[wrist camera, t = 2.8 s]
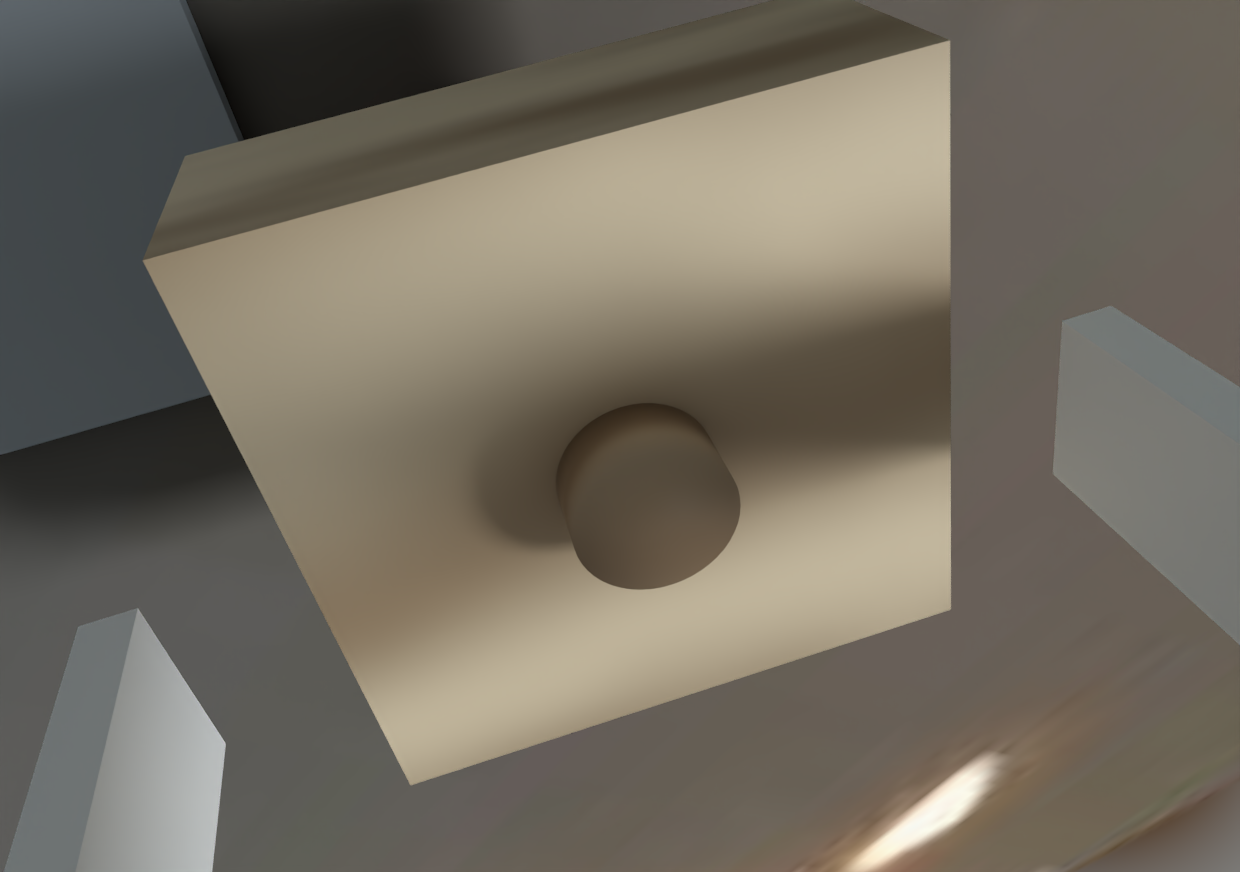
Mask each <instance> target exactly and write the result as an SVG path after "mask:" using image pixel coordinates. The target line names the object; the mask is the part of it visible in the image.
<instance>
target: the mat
mask: <svg viewBox="0 0 1240 872" xmlns="http://www.w3.org/2000/svg"><path fill="white" fill-rule="evenodd" d="M240 141H244V139H243V136H242V134H241V132H240V129H239V127H238V124H237V122H236V120H235V117H234V115H233V112H232V110H231V108H230V105H229V103H228V100H227V98H226V96H225V93H224V91H223V88H222V86H221V84H220V81H219V79H218V76H217V74H216V72H215V69H214V67H213V64H212V62H211V60H210V57H209V55H208V52H207V50H206V48H205V45H204V43H203V40H202V38H201V35H200V33H199V31H198V28H197V26H196V23H195V21H194V19H193V16H192V14H191V11H190V9H189V7H188V4H187V2H186V0H0V455H2V454H5V453H9V452H12V451H16V450H19V449H23V448H26V447H30V446H33V445H37V444H40V443H44V442H47V441H51V440H54V439H58V438H61V437H65V436H68V435H72V434H75V433H79V432H82V431H86V430H89V429H93V428H96V427H100V426H103V425H107V424H110V423H114V422H117V421H121V420H124V419H127V418H131V417H134V416H138V415H141V414H145V413H148V412H152V411H155V410H159V409H162V408H166V407H169V406H173V405H176V404H180V403H183V402H187V401H190V400H194V399H197V398H201V397H204V396H208V395H211V394H210V392H209V390H208V388H207V386H206V384H205V382H204V380H203V378H202V376H201V374H200V372H199V370H198V368H197V366H196V364H195V362H194V360H193V358H192V356H191V354H190V352H189V350H188V349H187V347H186V345H185V343H184V341H183V339H182V337H181V335H180V333H179V331H178V329H177V327H176V325H175V323H174V321H173V319H172V317H171V315H170V313H169V311H168V309H167V307H166V305H165V304H164V302H163V300H162V298H161V296H160V294H159V292H158V290H157V288H156V286H155V284H154V282H153V280H152V278H151V276H150V274H149V272H148V270H147V268H146V266H145V264H144V262H143V258H144V256H145V253H146V251H147V248H148V246H149V243H150V241H151V238H152V236H153V233H154V231H155V229H156V226H157V224H158V221H159V219H160V216H161V214H162V211H163V209H164V206H165V204H166V202H167V199H168V197H169V194H170V192H171V189H172V187H173V184H174V182H175V179H176V177H177V174H178V172H179V170H180V167H181V165H182V162H183V160H184V157H185V156H187V155H191V154H194V153H198V152H202V151H206V150H210V149H213V148H217V147H221V146H225V145H228V144H232V143H236V142H240Z"/></svg>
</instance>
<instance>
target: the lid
mask: <svg viewBox="0 0 1240 872" xmlns="http://www.w3.org/2000/svg"><path fill="white" fill-rule="evenodd" d="M143 262H144V264H145V266H146V268H147V270H148V272H149V274H150V276H151V278H152V280H153V282H154V284H155V286H156V288H157V290H158V292H159V294H160V296H161V298H162V300H163V302H164V304H165V305H166V307H167V309H168V311H169V313H170V315H171V317H172V319H173V321H174V323H175V325H176V327H177V329H178V331H179V333H180V335H181V337H182V339H183V341H184V343H185V345H186V347H187V349H188V350H189V352H190V354H191V356H192V358H193V360H194V362H195V364H196V366H197V368H198V370H199V372H200V374H201V376H202V378H203V380H204V382H205V384H206V386H207V388H208V390H209V392H210V394H211V396H212V397H213V399H214V401H215V403H216V405H217V407H218V409H219V411H220V413H221V415H222V417H223V419H224V421H225V423H226V425H227V427H228V429H229V431H230V433H231V435H232V437H233V439H234V441H235V442H236V444H237V446H238V448H239V450H240V452H241V454H242V456H243V458H244V460H245V462H246V464H247V466H248V468H249V470H250V472H251V474H252V476H253V478H254V480H255V482H256V484H257V486H258V488H259V489H260V491H261V493H262V495H263V497H264V499H265V501H266V503H267V505H268V507H269V509H270V511H271V513H272V515H273V517H274V519H275V521H276V523H277V525H278V527H279V529H280V531H281V533H282V534H283V536H284V538H285V540H286V542H287V544H288V546H289V548H290V550H291V552H292V554H293V556H294V558H295V560H296V562H297V564H298V566H299V568H300V570H301V572H302V574H303V576H304V578H305V580H306V581H307V583H308V585H309V587H310V589H311V591H312V593H313V595H314V597H315V599H316V601H317V603H318V605H319V607H320V609H321V611H322V613H323V615H324V617H325V619H326V621H327V623H328V625H329V627H330V628H331V630H332V632H333V634H334V636H335V638H336V640H337V642H338V644H339V646H340V648H341V650H342V652H343V654H344V656H345V658H346V660H347V662H348V664H349V666H350V668H351V670H352V672H353V673H354V675H355V677H356V679H357V681H358V683H359V685H360V687H361V689H362V691H363V693H364V695H365V697H366V699H367V701H368V703H369V705H370V707H371V709H372V711H373V713H374V715H375V717H376V719H377V720H378V722H379V724H380V726H381V728H382V730H383V732H384V734H385V736H386V738H387V740H388V742H389V744H390V746H391V748H392V750H393V752H394V754H395V756H396V758H397V760H398V762H399V764H400V765H401V767H402V769H403V771H404V773H405V775H406V777H407V779H408V781H409V783H410V785H413V784H416V783H419V782H422V781H425V780H428V779H432V778H435V777H438V776H441V775H444V774H447V773H450V772H453V771H456V770H459V769H462V768H465V767H468V766H471V765H475V764H478V763H481V762H484V761H487V760H490V759H493V758H496V757H499V756H502V755H505V754H508V753H511V752H514V751H518V750H521V749H524V748H527V747H530V746H533V745H536V744H539V743H542V742H545V741H548V740H551V739H554V738H557V737H561V736H564V735H567V734H570V733H573V732H576V731H579V730H582V729H585V728H588V727H591V726H594V725H597V724H601V723H604V722H607V721H610V720H613V719H616V718H619V717H622V716H625V715H628V714H631V713H634V712H637V711H640V710H644V709H647V708H650V707H653V706H656V705H659V704H662V703H665V702H668V701H671V700H674V699H677V698H680V697H683V696H687V695H690V694H693V693H696V692H699V691H702V690H705V689H708V688H711V687H714V686H717V685H720V684H723V683H727V682H730V681H733V680H736V679H739V678H742V677H745V676H748V675H751V674H754V673H757V672H760V671H763V670H766V669H770V668H773V667H776V666H779V665H782V664H785V663H788V662H791V661H794V660H797V659H800V658H803V657H806V656H809V655H813V654H816V653H819V652H822V651H825V650H828V649H831V648H834V647H837V646H840V645H843V644H846V643H849V642H852V641H856V640H859V639H862V638H865V637H868V636H871V635H874V634H877V633H880V632H883V631H886V630H889V629H892V628H896V627H899V626H902V625H905V624H908V623H911V622H914V621H917V620H920V619H923V618H926V617H929V616H932V615H935V614H939V613H942V612H945V611H948V610H951V381H950V40H948V39H946V38H943V37H941V36H938V35H936V34H934V33H931V32H929V31H926V30H924V29H921V28H919V27H916V26H914V25H912V24H909V23H907V22H904V21H902V20H899V19H897V18H894V17H892V16H890V15H887V14H885V13H882V12H880V11H877V10H875V9H873V8H870V7H868V6H865V5H863V4H860V3H858V2H855V1H853V0H773V1H769V2H765V3H761V4H758V5H754V6H750V7H746V8H742V9H739V10H735V11H731V12H727V13H723V14H720V15H716V16H712V17H708V18H705V19H701V20H697V21H693V22H689V23H686V24H682V25H678V26H674V27H671V28H667V29H663V30H659V31H655V32H652V33H648V34H644V35H640V36H637V37H633V38H629V39H625V40H621V41H618V42H614V43H610V44H606V45H603V46H599V47H595V48H591V49H587V50H584V51H580V52H576V53H572V54H569V55H565V56H561V57H557V58H553V59H550V60H546V61H542V62H538V63H535V64H531V65H527V66H523V67H519V68H516V69H512V70H508V71H504V72H501V73H497V74H493V75H489V76H485V77H482V78H478V79H474V80H470V81H467V82H463V83H459V84H455V85H451V86H448V87H444V88H440V89H436V90H433V91H429V92H425V93H421V94H417V95H414V96H410V97H406V98H402V99H399V100H395V101H391V102H387V103H383V104H380V105H376V106H372V107H368V108H365V109H361V110H357V111H353V112H349V113H346V114H342V115H338V116H334V117H330V118H327V119H323V120H319V121H315V122H312V123H308V124H304V125H300V126H296V127H293V128H289V129H285V130H281V131H278V132H274V133H270V134H266V135H262V136H259V137H255V138H251V139H247V140H244V141H240V142H236V143H232V144H228V145H225V146H221V147H217V148H213V149H210V150H206V151H202V152H198V153H194V154H191V155H187V156H185V157H184V160H183V162H182V165H181V167H180V170H179V172H178V174H177V177H176V179H175V182H174V184H173V187H172V189H171V192H170V194H169V197H168V199H167V202H166V204H165V206H164V209H163V211H162V214H161V216H160V219H159V221H158V224H157V226H156V229H155V231H154V233H153V236H152V238H151V241H150V243H149V246H148V248H147V251H146V253H145V256H144V258H143Z"/></svg>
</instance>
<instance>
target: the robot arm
mask: <svg viewBox="0 0 1240 872" xmlns="http://www.w3.org/2000/svg"><path fill="white" fill-rule="evenodd" d="M1053 475H1054V476H1056V477H1057V478H1058V479H1059V480H1060V481H1061V482H1062V483H1063V484H1064V485H1065V486H1066V487H1068V488H1069V489H1070V490H1071V491H1072V492H1073V493H1074V494H1075V495H1076V496H1077V497H1079V498H1080V499H1081V500H1082V501H1083V502H1084V503H1085V504H1086V505H1087V506H1088V507H1089V508H1091V509H1092V510H1093V511H1094V512H1095V513H1096V514H1097V515H1098V516H1099V517H1100V518H1101V519H1103V520H1104V521H1105V522H1106V523H1107V524H1108V525H1109V526H1110V527H1111V528H1112V529H1114V530H1115V531H1116V532H1117V533H1118V534H1119V535H1120V536H1121V537H1122V538H1123V539H1124V540H1126V541H1127V542H1128V543H1129V544H1130V545H1131V546H1132V547H1133V548H1134V549H1135V550H1136V551H1138V552H1139V553H1140V554H1141V555H1142V556H1143V557H1144V558H1145V559H1146V560H1147V561H1149V562H1150V563H1151V564H1152V565H1153V566H1154V567H1155V568H1156V569H1157V570H1158V571H1159V572H1161V573H1162V574H1163V575H1164V576H1165V577H1166V578H1167V579H1168V580H1169V581H1170V582H1171V583H1173V584H1174V585H1175V586H1176V587H1177V588H1178V589H1179V590H1180V591H1181V592H1182V593H1184V594H1185V595H1186V596H1187V597H1188V598H1189V599H1190V600H1191V601H1192V602H1193V603H1194V604H1196V605H1197V606H1198V607H1199V608H1200V609H1201V610H1202V611H1203V612H1204V613H1205V614H1206V615H1208V616H1209V617H1210V618H1211V619H1212V620H1213V621H1214V622H1215V623H1216V624H1217V625H1219V626H1220V627H1221V628H1222V629H1223V630H1224V631H1225V632H1226V633H1227V634H1228V635H1229V636H1231V637H1232V638H1233V639H1234V640H1235V641H1236V642H1237V643H1238V644H1239V645H1240V387H1239V386H1237V385H1236V384H1234V383H1232V382H1231V381H1229V380H1228V379H1226V378H1225V377H1223V376H1221V375H1220V374H1218V373H1217V372H1215V371H1213V370H1212V369H1210V368H1209V367H1207V366H1206V365H1204V364H1202V363H1201V362H1199V361H1198V360H1196V359H1194V358H1193V357H1191V356H1190V355H1188V354H1187V353H1185V352H1183V351H1182V350H1180V349H1179V348H1177V347H1175V346H1174V345H1172V344H1171V343H1169V342H1168V341H1166V340H1164V339H1163V338H1161V337H1160V336H1158V335H1156V334H1155V333H1153V332H1152V331H1150V330H1149V329H1147V328H1145V327H1144V326H1142V325H1141V324H1139V323H1138V322H1136V321H1134V320H1133V319H1131V318H1130V317H1128V316H1126V315H1125V314H1123V313H1122V312H1120V311H1119V310H1117V309H1115V308H1114V307H1112V306H1109V307H1106V308H1103V309H1100V310H1096V311H1093V312H1090V313H1087V314H1083V315H1080V316H1077V317H1074V318H1071V319H1067V320H1064V321H1062V333H1061V350H1060V366H1059V382H1058V398H1057V414H1056V431H1055V447H1054V463H1053ZM225 746H226V743H225V742H224V740H223V739H222V737H221V736H220V734H219V733H218V731H217V729H216V728H215V726H214V725H213V723H212V722H211V720H210V719H209V717H208V716H207V714H206V713H205V711H204V709H203V708H202V706H201V705H200V703H199V702H198V700H197V699H196V697H195V696H194V694H193V693H192V691H191V689H190V688H189V686H188V685H187V683H186V682H185V680H184V679H183V677H182V676H181V674H180V672H179V671H178V669H177V668H176V666H175V665H174V663H173V662H172V660H171V659H170V657H169V656H168V654H167V652H166V651H165V649H164V648H163V646H162V645H161V643H160V642H159V640H158V639H157V637H156V635H155V634H154V632H153V631H152V629H151V628H150V626H149V625H148V623H147V622H146V620H145V619H144V617H143V615H142V614H141V612H140V611H139V609H138V608H137V609H133V610H130V611H127V612H124V613H121V614H117V615H114V616H111V617H108V618H104V619H101V620H98V621H95V622H92V623H88V624H85V625H82V626H79V627H78V629H77V633H76V636H75V639H74V642H73V646H72V649H71V652H70V656H69V659H68V662H67V665H66V669H65V672H64V675H63V679H62V682H61V685H60V689H59V692H58V695H57V698H56V702H55V705H54V708H53V712H52V715H51V718H50V721H49V725H48V728H47V731H46V735H45V738H44V741H43V745H42V748H41V751H40V754H39V758H38V761H37V764H36V768H35V771H34V774H33V777H32V781H31V784H30V787H29V791H28V794H27V797H26V801H25V804H24V807H23V810H22V814H21V817H20V820H19V824H18V827H17V830H16V833H15V837H14V840H13V843H12V847H11V850H10V853H9V857H8V860H7V863H6V866H5V870H4V872H212V867H213V858H214V849H215V839H216V830H217V821H218V811H219V802H220V793H221V784H222V774H223V765H224V756H225Z"/></svg>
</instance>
